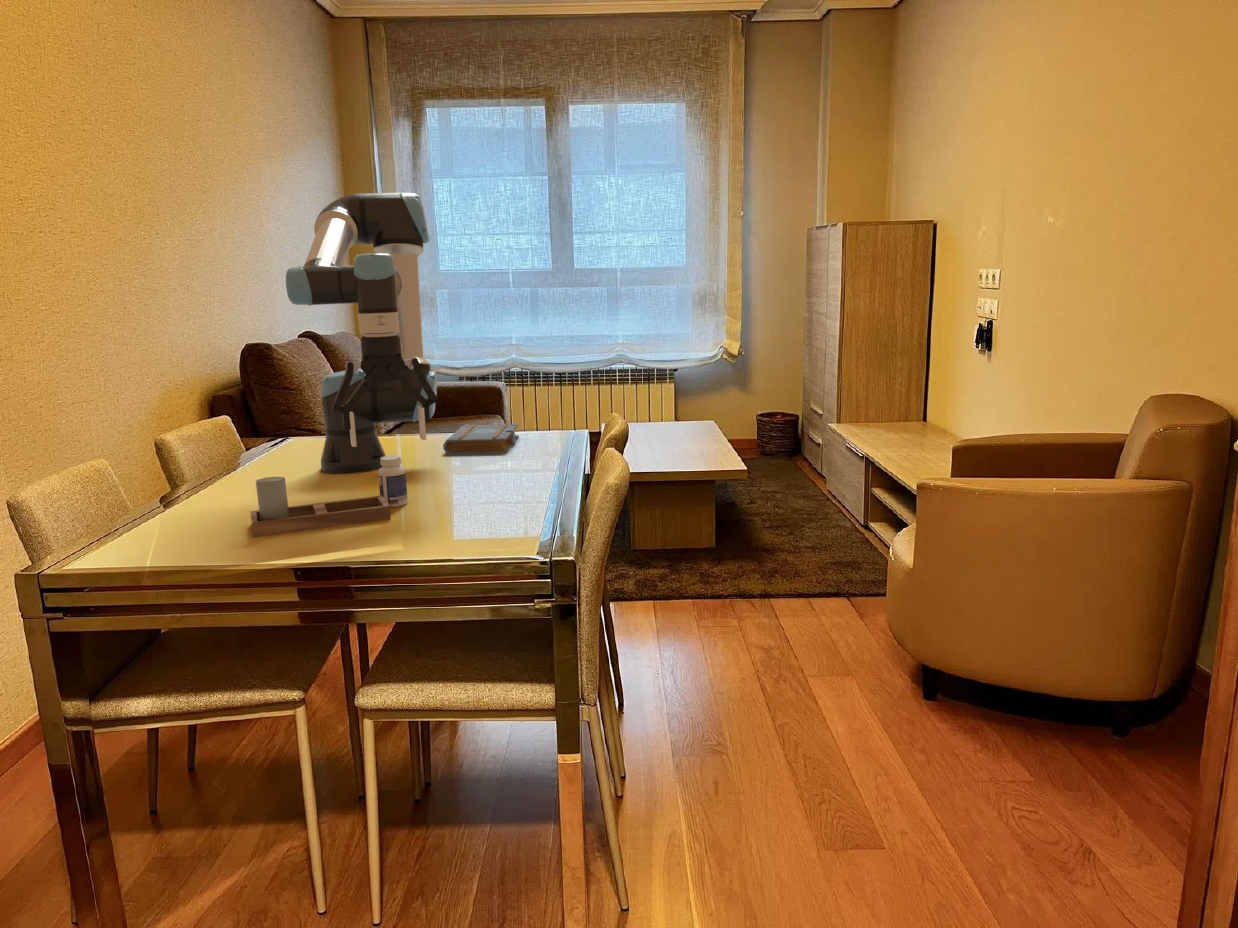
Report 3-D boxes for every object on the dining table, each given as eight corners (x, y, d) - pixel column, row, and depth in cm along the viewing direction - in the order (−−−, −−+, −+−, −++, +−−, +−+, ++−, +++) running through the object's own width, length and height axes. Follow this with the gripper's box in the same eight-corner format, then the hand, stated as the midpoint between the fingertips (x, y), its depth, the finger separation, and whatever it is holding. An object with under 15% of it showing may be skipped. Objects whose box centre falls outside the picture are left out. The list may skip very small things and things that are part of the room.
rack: (252, 529, 171) (250, 511, 170) (383, 512, 180) (382, 495, 179) (253, 542, 163) (251, 523, 162) (391, 524, 172) (389, 506, 171)
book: (461, 440, 253) (459, 422, 252) (520, 438, 252) (519, 420, 251) (443, 456, 233) (442, 436, 231) (508, 454, 232) (507, 435, 231)
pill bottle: (413, 501, 187) (409, 455, 185) (398, 508, 182) (394, 460, 180) (390, 500, 189) (386, 454, 187) (375, 506, 184) (371, 459, 182)
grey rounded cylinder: (260, 525, 169) (255, 478, 167) (289, 522, 171) (284, 475, 169) (261, 532, 165) (256, 484, 163) (291, 529, 167) (285, 481, 165)
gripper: (314, 339, 170) (325, 451, 175) (447, 332, 179) (455, 439, 184) (311, 337, 177) (321, 445, 181) (439, 330, 186) (447, 433, 191)
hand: (389, 442), depth 183 cm, fingers open, 13 cm apart
